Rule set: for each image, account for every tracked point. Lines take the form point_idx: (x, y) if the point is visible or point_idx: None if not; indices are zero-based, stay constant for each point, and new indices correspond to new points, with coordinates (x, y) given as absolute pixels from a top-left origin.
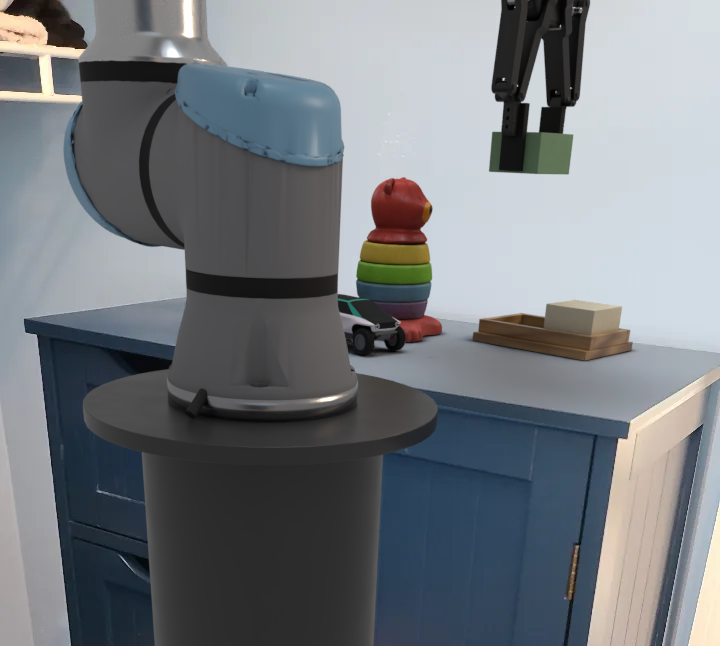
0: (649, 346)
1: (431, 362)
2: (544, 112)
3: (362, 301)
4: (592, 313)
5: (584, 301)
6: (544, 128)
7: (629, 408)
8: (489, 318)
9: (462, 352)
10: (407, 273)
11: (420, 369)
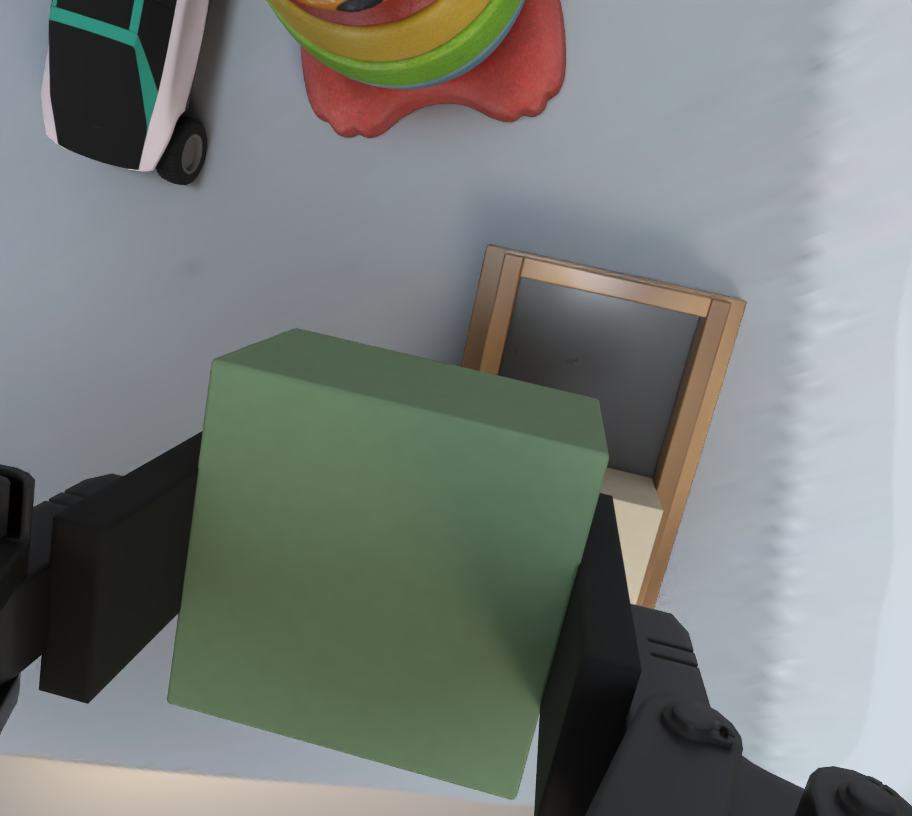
0: (746, 652)
1: (144, 298)
2: (572, 663)
3: (89, 39)
4: None
5: (647, 543)
6: (569, 620)
7: (61, 738)
8: (536, 273)
9: (308, 300)
10: (300, 42)
11: (61, 315)
